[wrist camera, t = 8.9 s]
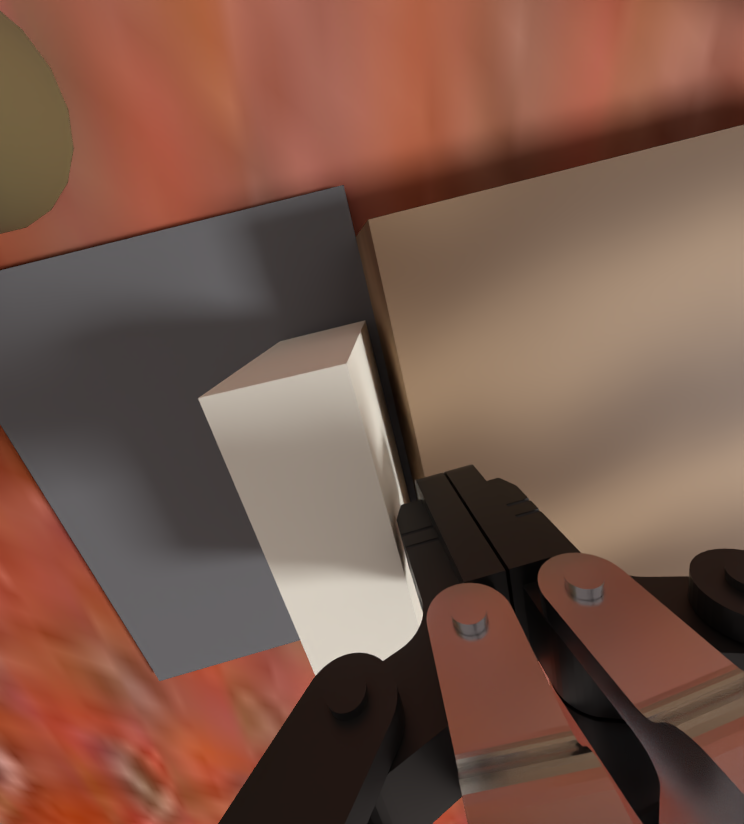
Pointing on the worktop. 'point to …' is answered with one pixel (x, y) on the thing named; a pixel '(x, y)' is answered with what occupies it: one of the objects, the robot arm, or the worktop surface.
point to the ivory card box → (322, 489)
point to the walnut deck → (581, 345)
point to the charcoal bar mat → (171, 407)
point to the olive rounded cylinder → (29, 132)
